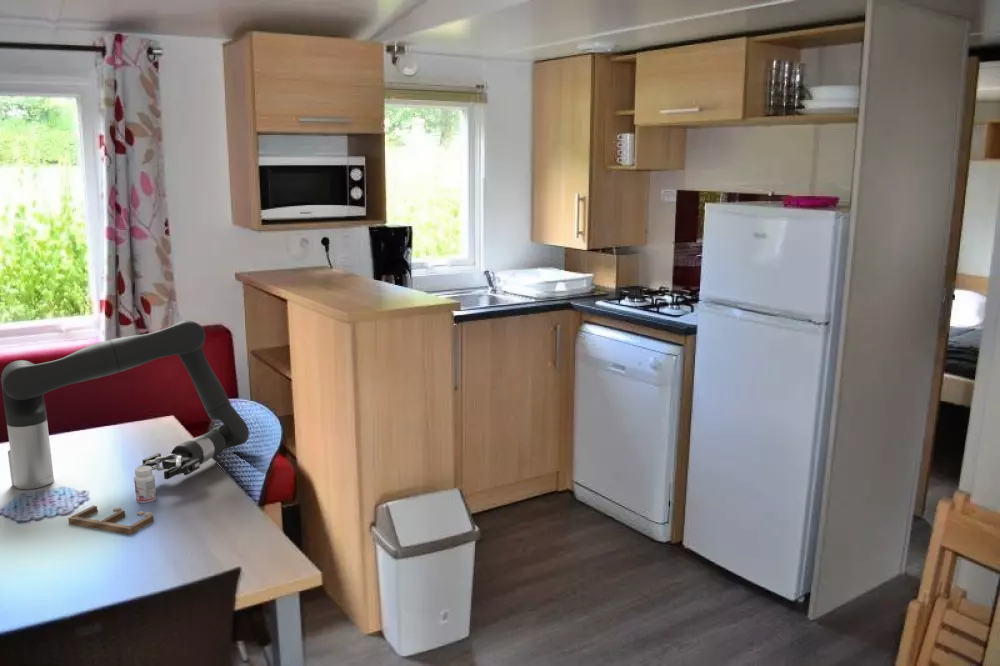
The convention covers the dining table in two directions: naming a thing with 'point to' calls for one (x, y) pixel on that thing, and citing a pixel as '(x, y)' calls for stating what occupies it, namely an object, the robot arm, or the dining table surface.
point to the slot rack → (110, 521)
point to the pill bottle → (144, 484)
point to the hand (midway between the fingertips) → (151, 473)
